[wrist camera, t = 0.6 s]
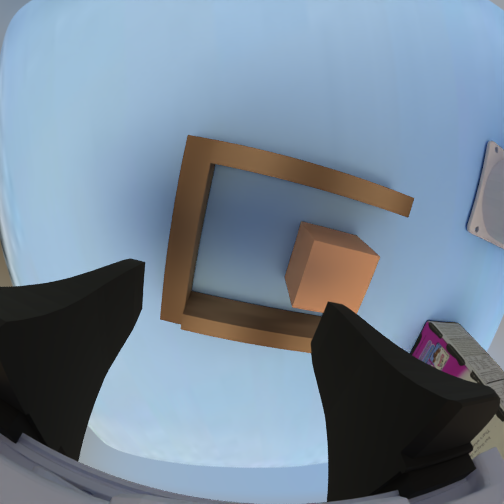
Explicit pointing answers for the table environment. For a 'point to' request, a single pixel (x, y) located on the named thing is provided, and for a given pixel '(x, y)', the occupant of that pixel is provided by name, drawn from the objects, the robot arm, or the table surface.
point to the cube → (328, 268)
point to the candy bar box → (465, 372)
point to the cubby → (190, 228)
